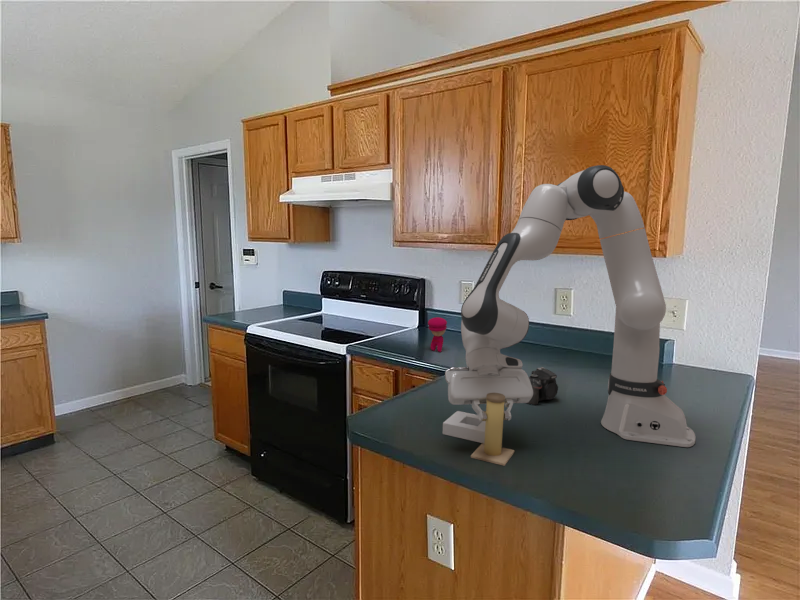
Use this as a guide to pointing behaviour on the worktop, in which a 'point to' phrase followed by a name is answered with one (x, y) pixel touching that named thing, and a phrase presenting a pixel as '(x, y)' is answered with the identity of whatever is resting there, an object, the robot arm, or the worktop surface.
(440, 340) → the toy
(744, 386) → the worktop surface
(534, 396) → the camera
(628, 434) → the robot arm
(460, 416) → the socket block
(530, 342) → the worktop surface
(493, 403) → the plug
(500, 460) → the mat
